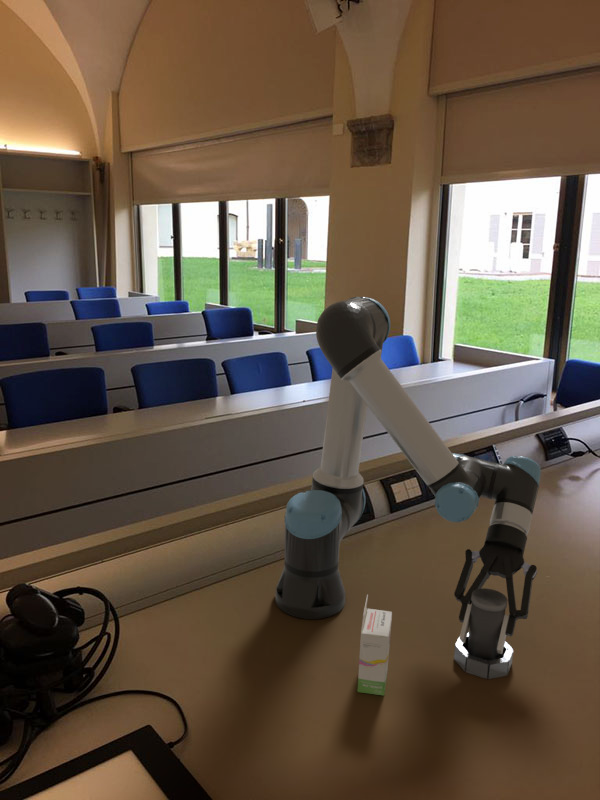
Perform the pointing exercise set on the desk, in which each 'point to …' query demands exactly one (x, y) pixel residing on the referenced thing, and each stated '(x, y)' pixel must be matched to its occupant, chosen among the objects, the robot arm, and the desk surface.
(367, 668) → the ink box
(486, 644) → the tube
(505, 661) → the collar
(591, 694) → the desk surface
